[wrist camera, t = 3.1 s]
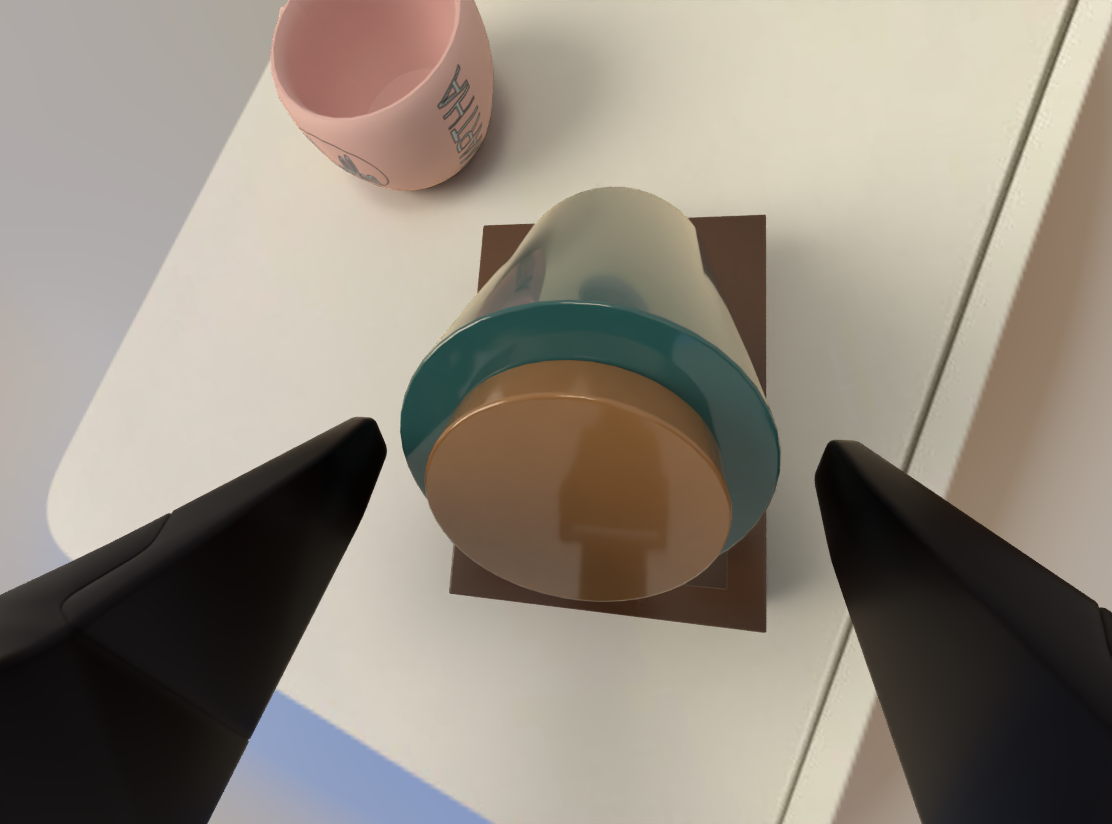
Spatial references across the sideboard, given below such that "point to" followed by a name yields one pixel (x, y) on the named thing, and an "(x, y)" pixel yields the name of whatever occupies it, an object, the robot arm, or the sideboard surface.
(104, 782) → the robot arm
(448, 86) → the mug
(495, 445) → the jar
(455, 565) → the stand
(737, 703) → the sideboard surface
